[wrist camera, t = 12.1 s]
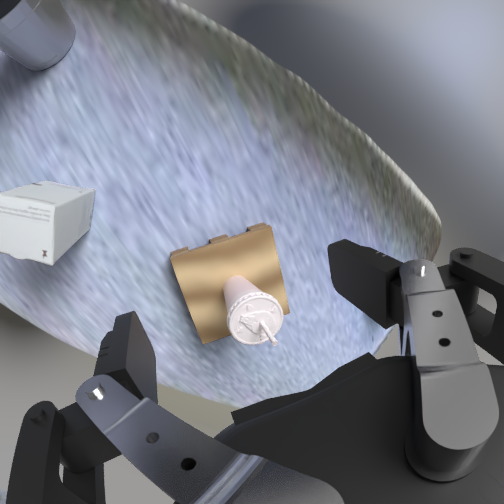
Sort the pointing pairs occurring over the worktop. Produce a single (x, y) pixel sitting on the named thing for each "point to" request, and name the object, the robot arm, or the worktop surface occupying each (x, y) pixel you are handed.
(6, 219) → the skincare box
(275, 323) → the smoothie
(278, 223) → the worktop surface
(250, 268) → the tan wavy panel
